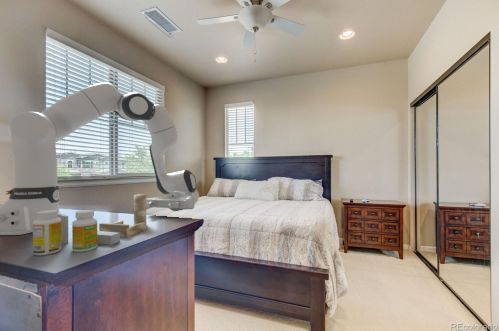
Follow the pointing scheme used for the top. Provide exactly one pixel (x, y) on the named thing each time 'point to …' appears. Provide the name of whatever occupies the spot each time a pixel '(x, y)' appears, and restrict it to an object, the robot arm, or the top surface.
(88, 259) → the top surface
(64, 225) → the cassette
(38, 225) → the supplement bottle
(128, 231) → the cradle
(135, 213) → the dowel
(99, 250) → the top surface
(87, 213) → the supplement bottle
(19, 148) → the robot arm
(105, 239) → the wall
